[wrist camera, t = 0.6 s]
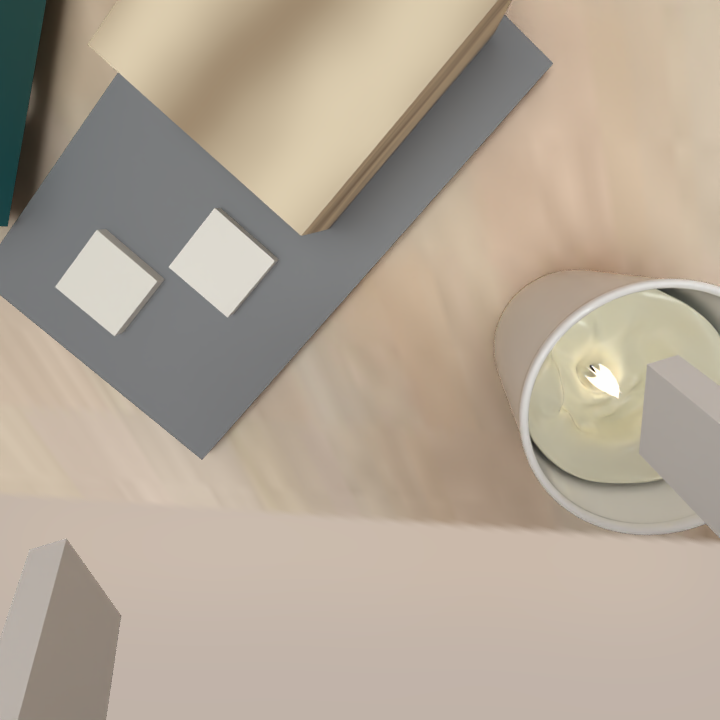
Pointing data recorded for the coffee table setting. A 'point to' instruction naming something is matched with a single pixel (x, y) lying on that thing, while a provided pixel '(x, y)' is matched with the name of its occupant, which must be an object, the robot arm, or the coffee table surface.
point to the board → (223, 190)
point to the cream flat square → (223, 262)
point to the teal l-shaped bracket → (15, 86)
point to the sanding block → (297, 84)
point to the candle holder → (601, 386)
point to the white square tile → (109, 282)
